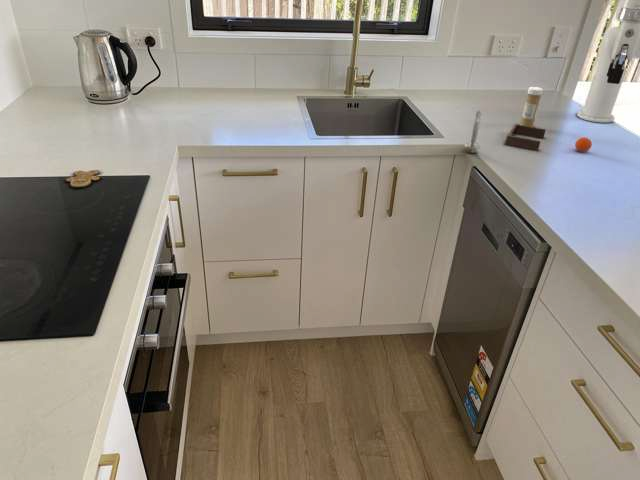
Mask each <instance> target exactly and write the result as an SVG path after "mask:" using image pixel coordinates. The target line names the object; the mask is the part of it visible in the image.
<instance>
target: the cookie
mask: <svg viewBox="0 0 640 480" xmlns="http://www.w3.org/2000/svg"><path fill="white" fill-rule="evenodd" d="M100 173H101V170H99V169H92V170H89V171H84V170H76V171H73V172H72V174H73V175H75V176H70V177H67V178H66V179H65V181H66V182H67V183H69V184H70V187H71V188H77V189H78V188H85V187H89V186H90V185H91V184H92V181H93V182H94V181H99V180H100V179H101V177H100V176H98V174H100Z"/></svg>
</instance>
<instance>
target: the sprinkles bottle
mask: <svg viewBox="0 0 640 480" xmlns="http://www.w3.org/2000/svg"><path fill="white" fill-rule="evenodd" d="M527 89H528V90H527V96H526V100H525V103H524V108H523V111H522V115H521V120H520V123H519V125H524V126H529V127H534V124H535V120H536V117H537V114H538V109H539V104H540V101H541V96H542V95H543V92H544V91H543V90H544V89H543V88H542V87H538V86H529V87H528V88H527Z"/></svg>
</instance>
